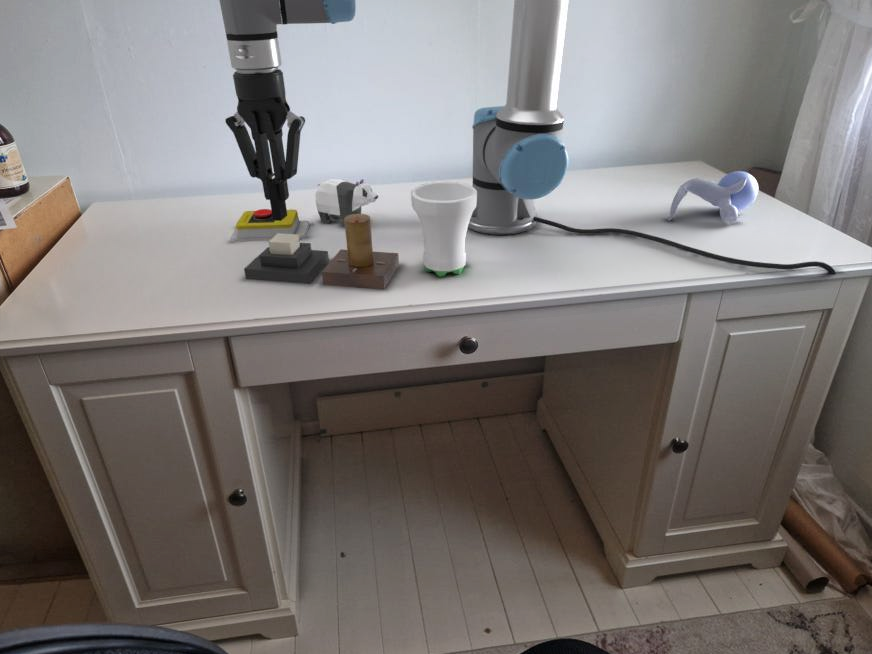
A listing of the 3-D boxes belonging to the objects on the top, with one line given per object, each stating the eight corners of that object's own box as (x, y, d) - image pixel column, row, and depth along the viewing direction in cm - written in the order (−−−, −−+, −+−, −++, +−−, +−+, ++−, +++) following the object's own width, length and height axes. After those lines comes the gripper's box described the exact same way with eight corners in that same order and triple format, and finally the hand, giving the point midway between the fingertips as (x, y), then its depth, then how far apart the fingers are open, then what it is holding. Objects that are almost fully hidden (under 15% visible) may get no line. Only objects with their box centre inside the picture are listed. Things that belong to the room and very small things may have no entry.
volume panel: (399, 265, 115) (398, 252, 113) (384, 289, 107) (383, 275, 105) (341, 261, 117) (340, 248, 115) (323, 285, 109) (321, 270, 107)
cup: (480, 258, 117) (482, 182, 109) (470, 284, 108) (471, 203, 100) (421, 254, 119) (419, 179, 111) (406, 279, 110) (403, 199, 102)
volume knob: (349, 257, 112) (344, 212, 108) (374, 256, 112) (370, 211, 108) (347, 267, 108) (343, 221, 104) (373, 266, 108) (369, 220, 104)
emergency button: (236, 205, 132) (307, 203, 132) (240, 225, 134) (310, 223, 134) (225, 220, 124) (301, 218, 124) (229, 241, 126) (304, 239, 126)
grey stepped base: (329, 260, 117) (326, 240, 115) (309, 284, 109) (306, 262, 107) (269, 256, 119) (265, 236, 117) (245, 279, 111) (241, 258, 109)
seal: (761, 232, 133) (679, 240, 128) (733, 192, 140) (653, 198, 135) (785, 202, 126) (699, 209, 121) (754, 161, 133) (671, 166, 128)
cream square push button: (300, 247, 114) (298, 234, 112) (291, 256, 110) (289, 242, 109) (279, 246, 114) (277, 233, 113) (270, 255, 111) (268, 241, 110)
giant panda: (314, 221, 135) (309, 177, 130) (329, 213, 139) (324, 170, 134) (371, 232, 129) (368, 186, 124) (386, 223, 133) (383, 178, 128)
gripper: (206, 72, 94) (235, 223, 107) (287, 73, 92) (307, 227, 105) (229, 65, 100) (254, 208, 113) (306, 66, 98) (323, 212, 111)
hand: (280, 217), depth 109 cm, fingers closed
